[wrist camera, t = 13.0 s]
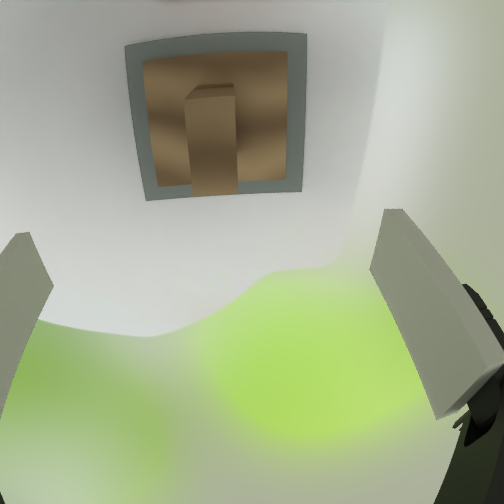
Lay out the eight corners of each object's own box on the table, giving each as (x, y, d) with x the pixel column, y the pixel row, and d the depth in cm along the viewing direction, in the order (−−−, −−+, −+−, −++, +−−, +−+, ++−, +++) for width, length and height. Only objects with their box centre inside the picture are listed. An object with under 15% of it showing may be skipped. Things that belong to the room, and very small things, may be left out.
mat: (126, 46, 23) (124, 46, 22) (305, 34, 24) (306, 33, 23) (147, 198, 33) (146, 200, 33) (300, 189, 34) (301, 191, 33)
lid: (145, 61, 24) (106, 68, 15) (285, 51, 24) (312, 51, 16) (160, 182, 31) (136, 236, 23) (283, 175, 32) (303, 226, 24)
